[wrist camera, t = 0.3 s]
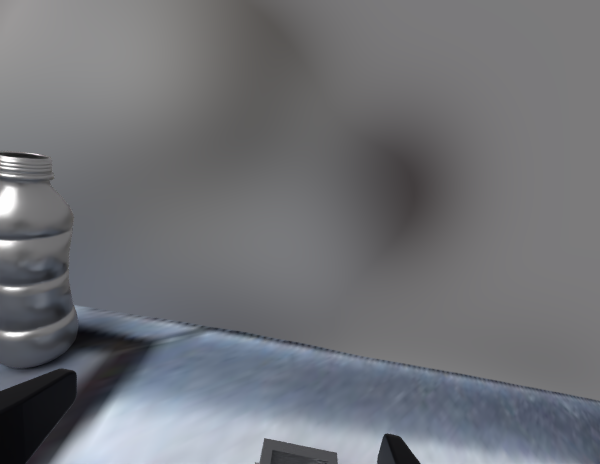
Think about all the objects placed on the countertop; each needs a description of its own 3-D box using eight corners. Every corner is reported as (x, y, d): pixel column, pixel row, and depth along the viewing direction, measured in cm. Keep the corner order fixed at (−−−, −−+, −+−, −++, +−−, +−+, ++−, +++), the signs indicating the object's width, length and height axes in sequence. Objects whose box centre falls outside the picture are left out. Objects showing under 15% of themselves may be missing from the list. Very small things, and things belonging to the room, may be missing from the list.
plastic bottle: (93, 336, 32) (91, 161, 27) (44, 383, 26) (27, 164, 20) (34, 328, 32) (19, 147, 26) (-32, 374, 25) (-70, 147, 20)
